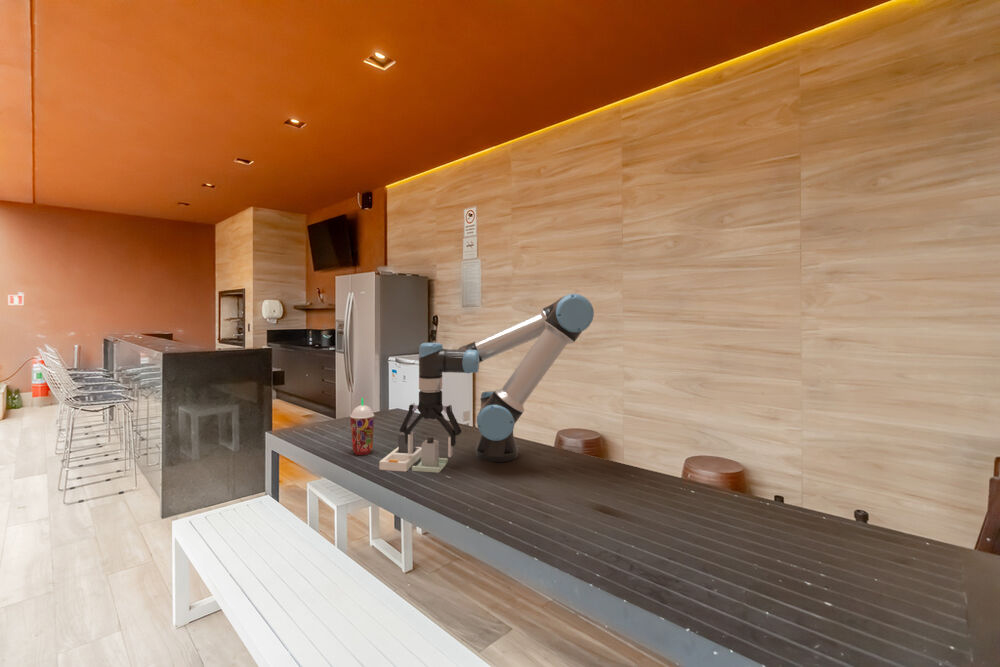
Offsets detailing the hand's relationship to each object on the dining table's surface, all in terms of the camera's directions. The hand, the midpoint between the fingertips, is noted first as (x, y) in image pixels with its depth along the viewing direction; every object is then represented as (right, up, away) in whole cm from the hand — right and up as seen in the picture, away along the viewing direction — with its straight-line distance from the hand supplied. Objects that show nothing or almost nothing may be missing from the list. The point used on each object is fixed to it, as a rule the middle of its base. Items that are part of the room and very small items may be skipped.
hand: (430, 454), depth 147 cm
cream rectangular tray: (-10, -4, +4) cm, 12 cm away
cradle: (0, -4, 0) cm, 4 cm away
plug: (0, -4, 0) cm, 4 cm away
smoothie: (-27, -3, +14) cm, 31 cm away
